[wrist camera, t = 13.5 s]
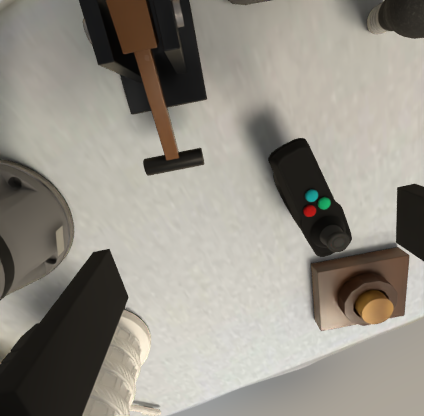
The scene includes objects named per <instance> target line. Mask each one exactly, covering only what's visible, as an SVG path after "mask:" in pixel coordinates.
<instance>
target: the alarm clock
mask: <svg viewBox="0 0 424 416" xmlns="http://www.w3.org/2000/svg"><path fill="white" fill-rule="evenodd" d="M229 1H230V2H231V3H232V4H240V5H248V4H254V3H259V2H265V1H270V0H229Z"/></svg>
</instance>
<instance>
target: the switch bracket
mask: <svg viewBox="0 0 424 416" xmlns="http://www.w3.org/2000/svg"><path fill="white" fill-rule="evenodd" d="M79 2H80V6H81V9H82V12H83V16H84V19H83V26H84V30H85V33H86V35H87V37H88V39H89V41H90V43H91V44H92V46H93V49H94V52H95V55H96V59H97V62H98V65H100V66H102V67H105V68H107V69H109V70H111V71H114V72H116V73H118V74H120V76H121V79H122V83H123V87H124V90H125V94H126V97H127V101H128V104H129V108H130V112H131V114H138V113H143V112H148V111H151V108H150V105H149V101H148V98H147V95H146V91H145V88H144V85H143V81H142V78H141V75H140V71H139V68H138V65H137V61H136V58H135V55H134V52H132V53H128V54H123V52H122V49H121V46H120V43H119V39H118V36H117V33H116V30H115V27H114V24H113V21H112V18H111V15H110V12H109V9H108V6H107V3H106V0H79ZM149 2H150V6H151V11H152V15H153V19H154V23H155V27H156V31H157V35H158V39H159V44H158V47H157V48H152V52H153V56H154V60H155V63H156V67H157V71H158V75H159V79H160V82H161V86H162V90H163V94H164V98H165V101H166V105H167V107H172V106H177V105H182V104H187V103H192V102H197V101H202V100H206V99H207V96H206V91H205V85H204V80H203V74H202V69H201V63H200V58H199V52H198V47H197V41H196V35H195V30H194V24H193V19H192V13H191V8H190V2H189V0H149Z"/></svg>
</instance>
